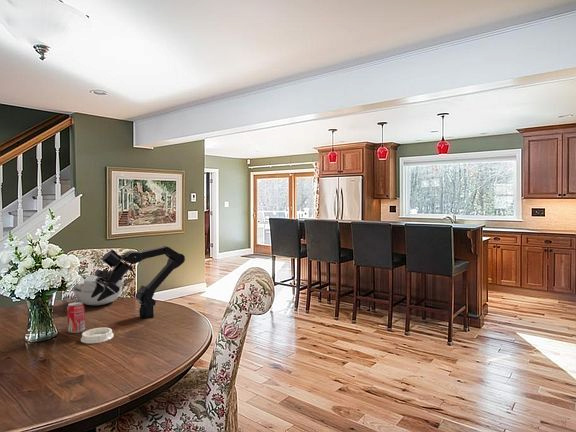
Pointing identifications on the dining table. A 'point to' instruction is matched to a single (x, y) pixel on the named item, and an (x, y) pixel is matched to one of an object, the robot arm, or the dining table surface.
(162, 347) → the dining table surface
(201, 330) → the dining table surface
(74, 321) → the soda can
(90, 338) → the white ring
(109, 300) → the decorative bowl
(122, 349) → the dining table surface
